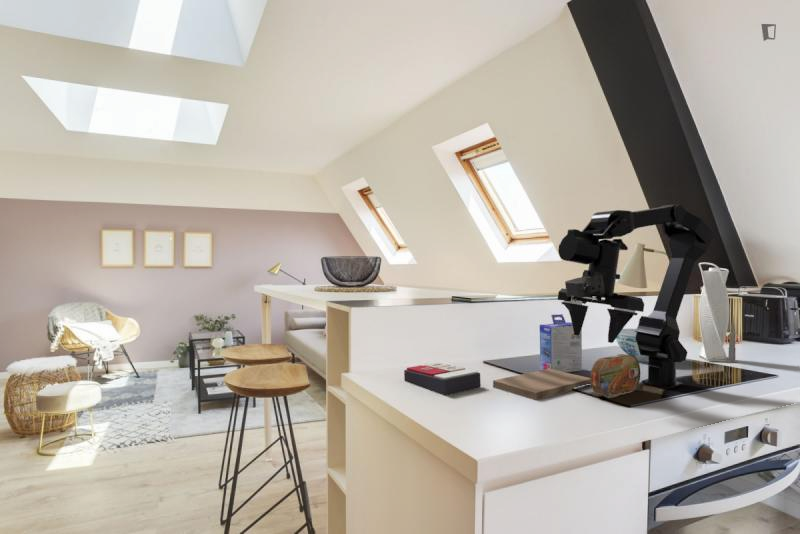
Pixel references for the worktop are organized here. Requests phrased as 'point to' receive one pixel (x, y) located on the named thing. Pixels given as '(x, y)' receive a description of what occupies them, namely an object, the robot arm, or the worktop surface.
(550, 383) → the walnut board
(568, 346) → the ink cartridge box
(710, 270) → the skyscraper
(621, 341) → the chinaware
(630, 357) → the tin
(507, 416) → the worktop surface
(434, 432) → the worktop surface
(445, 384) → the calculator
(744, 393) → the worktop surface
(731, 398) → the worktop surface
